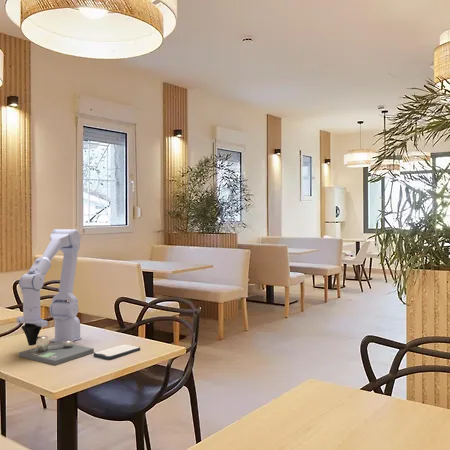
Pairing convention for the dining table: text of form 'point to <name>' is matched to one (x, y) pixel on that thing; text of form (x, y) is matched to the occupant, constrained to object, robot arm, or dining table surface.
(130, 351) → the phone case
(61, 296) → the robot arm
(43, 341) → the lever
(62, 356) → the dial board
